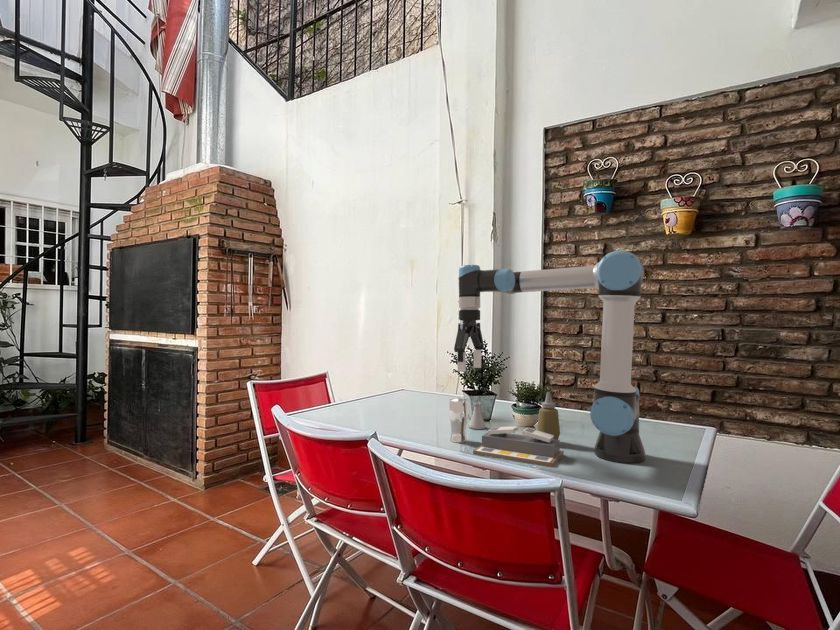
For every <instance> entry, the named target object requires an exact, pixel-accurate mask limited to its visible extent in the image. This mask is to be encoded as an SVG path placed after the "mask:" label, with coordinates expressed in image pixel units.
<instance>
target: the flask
mask: <svg viewBox="0 0 840 630" xmlns="http://www.w3.org/2000/svg"><path fill="white" fill-rule="evenodd" d="M481 406H482V402H473V412H472V415H471V418H470V421H469V424H468V428H469V429H472V430H482V429H483V430H484V429H486V428H487V426H486V423H485V419H484V418H483V414H482V410H481Z"/></svg>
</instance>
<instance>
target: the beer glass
mask: <svg viewBox="0 0 840 630" xmlns="http://www.w3.org/2000/svg"><path fill="white" fill-rule="evenodd" d="M448 414H449V424H450V428H451V431H450V432H451V433H450V439H449V440H450V442H451V443H455V444H464V443H467V442H468V439H467V438H468V437H467V431H466V430H467V425H468V418H469V403H468V399H467V398H464V397H463V398H461V397H459V398H458V397H456V398H450V399H449V406H448Z"/></svg>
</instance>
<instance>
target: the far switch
mask: <svg viewBox="0 0 840 630" xmlns="http://www.w3.org/2000/svg"><path fill="white" fill-rule="evenodd" d="M518 430H519V426H518V425H516V426H514V425H513V426H497V427H492V428H489V429H488V430H487V433H488V434H503V433H511V434H515V432H517V431H518Z"/></svg>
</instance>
